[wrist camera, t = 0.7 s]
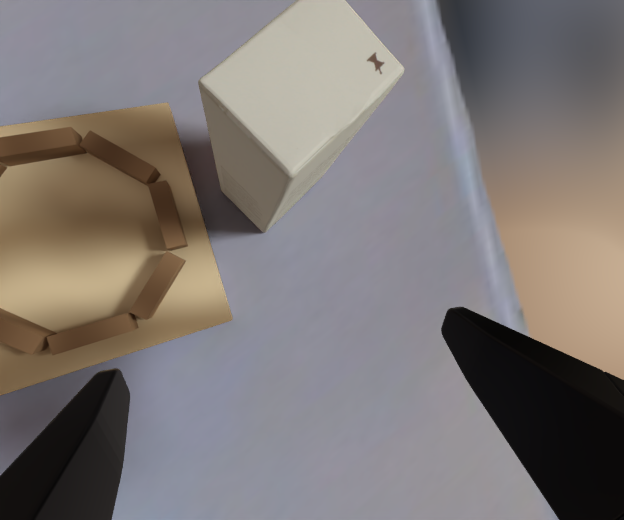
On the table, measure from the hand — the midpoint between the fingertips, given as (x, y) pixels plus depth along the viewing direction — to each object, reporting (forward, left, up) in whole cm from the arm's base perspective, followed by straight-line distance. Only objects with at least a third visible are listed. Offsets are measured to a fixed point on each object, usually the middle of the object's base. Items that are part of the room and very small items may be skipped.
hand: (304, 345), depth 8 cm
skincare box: (+8, -3, -13) cm, 16 cm away
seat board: (+7, +9, -13) cm, 17 cm away
